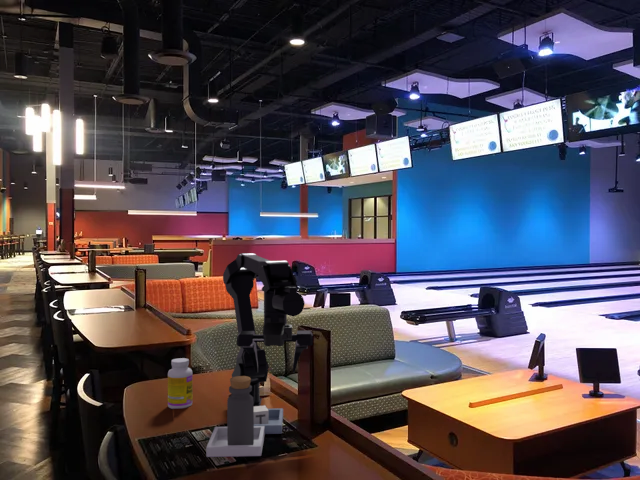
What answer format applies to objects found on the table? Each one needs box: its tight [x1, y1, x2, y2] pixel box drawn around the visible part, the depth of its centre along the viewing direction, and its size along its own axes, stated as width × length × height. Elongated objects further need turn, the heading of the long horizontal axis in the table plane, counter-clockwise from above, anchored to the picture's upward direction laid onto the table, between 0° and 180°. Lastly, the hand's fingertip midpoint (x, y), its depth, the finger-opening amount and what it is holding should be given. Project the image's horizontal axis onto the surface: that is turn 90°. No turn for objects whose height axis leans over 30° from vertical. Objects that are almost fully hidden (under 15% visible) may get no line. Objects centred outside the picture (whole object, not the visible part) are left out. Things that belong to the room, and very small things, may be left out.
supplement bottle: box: [167, 357, 194, 410], centre depth 145 cm, size 7×7×13 cm
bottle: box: [226, 376, 254, 445], centre depth 117 cm, size 6×6×15 cm
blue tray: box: [254, 407, 284, 435], centre depth 130 cm, size 12×12×2 cm
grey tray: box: [205, 426, 266, 458], centre depth 117 cm, size 12×12×2 cm
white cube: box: [254, 404, 269, 424], centre depth 130 cm, size 4×4×4 cm
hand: (275, 372), depth 131 cm, fingers open, 9 cm apart
